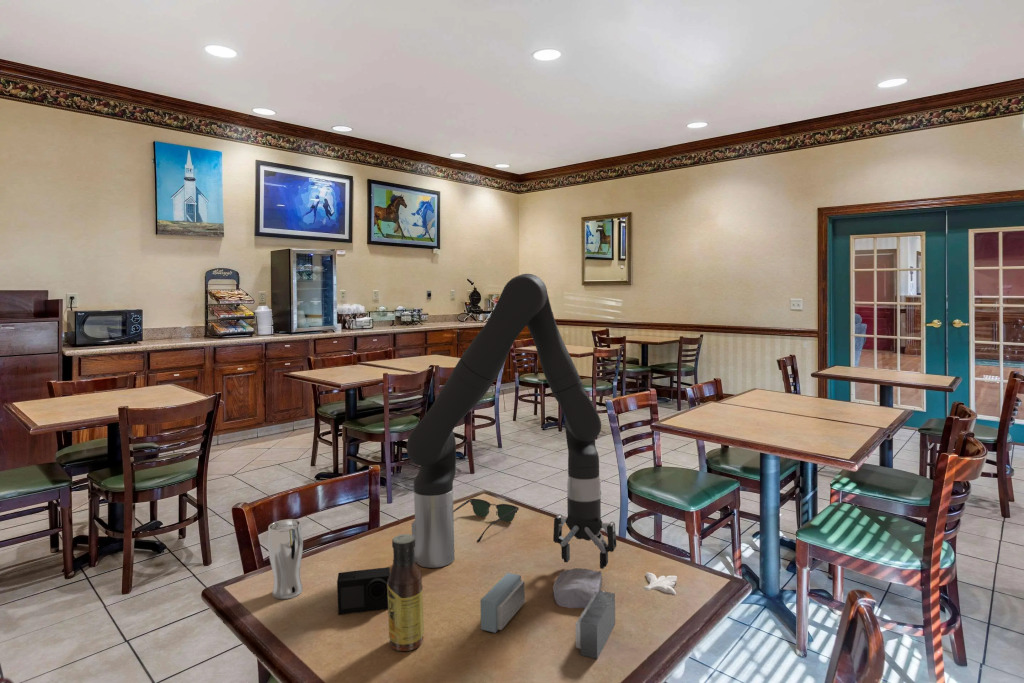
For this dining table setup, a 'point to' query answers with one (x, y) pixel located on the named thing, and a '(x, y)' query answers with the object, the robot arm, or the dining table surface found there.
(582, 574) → the stone block
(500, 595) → the block
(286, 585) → the beer glass
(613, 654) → the dining table surface
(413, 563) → the sauce bottle
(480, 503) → the sunglasses
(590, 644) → the block
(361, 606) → the digital camera
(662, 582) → the acanthus leaf ornament
